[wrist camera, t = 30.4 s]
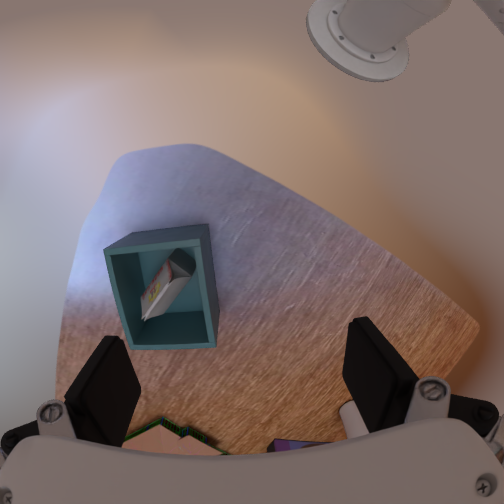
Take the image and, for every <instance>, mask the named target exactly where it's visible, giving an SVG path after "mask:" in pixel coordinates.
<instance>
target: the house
mask: <svg viewBox="0 0 504 504" xmlns="http://www.w3.org/2000/svg"><path fill="white" fill-rule="evenodd" d="M163 418H164V417H162V422H163ZM165 420H167V419H166V418H165ZM157 421H159V419H158V420H156V421H155V422H157ZM160 421H161V418H160ZM168 421H169V420H168ZM155 422H153V423H155ZM162 422H161V423H160V422H159V424H158V423H157V425H156V423H155V426H154V424H153V423H151V424H153V427H152V425H151V424H149V425H147V426H148V427H149V429H148V427H147V426H145V427H147V430H146V428H145V427H144V429H145V432H144V430H143V428H142V430H143V432H142V431H141V429H140V432H141V433H142V434H140V433H139V430H138V431H136V432H138V433H139V434H138V435H137V433H136V432H134V433H135V434H136V435H137V436H135V435H134V434H133V433H132V434H133V435H134V437H132V436H131V434H130V436H131V437H132V439H130V437H129V435H128V436H126V437H128V438H129V439H128V440H127V439H126V438H125V439H126V440H127V441H124V442H123V445H122V448H126V449H132V450H139V451H147V452H156V453H166V454H180V455H207V456H218V455H221V454H223V453H222V452H221V451H222V450H220V449H219V450H220V451H218V450H216V447H215V449H214V448H212V445H211V447H210V444H208V443H207V444H208V445H207V444H206V442H207V437H206V442H204V441H203V439H205V438H204V437H205V436H203V435H202V436H203V439H202V440H201V434H200V433H199V434H200V439H199V440H201V441H199V440H198V435H197V439H195V438H196V437H195V436H193V437H192V435H191V434H189V433H188V428H189V427H187V435H186V436H185V434H186V433H184V434H183V430H184V429H183V430H181V431H182V435H181V437H180V436H179V435H177V434H176V433H173V432H172V431H170V430H168V429H167V428H165V427H164V426H162ZM171 423H172V422H171ZM160 424H161V425H160ZM173 424H174V423H173ZM150 425H151V426H150ZM164 425H165V422H164ZM174 425H175V424H174ZM166 426H167V427H168V424H167V425H166ZM176 426H177V425H176ZM169 428H171V425H170V427H169ZM179 428H180V427H179ZM171 429H172V428H171ZM173 429H174V427H173ZM181 429H182V428H181ZM190 430H191V428H190ZM174 431H175V430H174ZM181 431H180V429H179V432H180V433H181ZM185 431H186V428H185ZM192 431H194V430H193V429H192ZM176 432H177V428H176ZM179 432H177V433H179ZM195 432H196V431H195ZM180 433H179V434H180ZM197 433H198V432H197ZM188 434H189V435H188ZM183 435H184V437H183ZM190 435H191V436H190ZM182 437H183V438H182ZM202 441H203V442H202ZM213 447H214V446H213ZM217 449H218V448H217ZM223 452H224V451H223ZM227 454H228V453H227ZM225 455H226V452H225ZM229 455H230V454H229Z"/></svg>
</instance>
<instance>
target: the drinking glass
mask: <svg viewBox="0 0 504 504" xmlns="http://www.w3.org/2000/svg"><path fill="white" fill-rule="evenodd" d="M339 414H340V417H341V419H342V422H343V426H344V429H345V432H346V436H347V439H351V438H355V437H359V436H362V435H366V434H369V432H368V430H367V428H366V425H365V423H364V421H363V419H362V417H361V415H360V413H359V411H358V408H357V406H356V404H355V402H354V400H352V401H349V402H347V403H345V404H344V405H343V406H342V407H341V408H340V410H339Z"/></svg>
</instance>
